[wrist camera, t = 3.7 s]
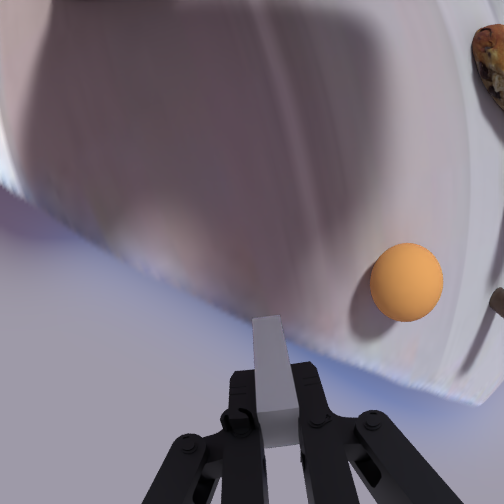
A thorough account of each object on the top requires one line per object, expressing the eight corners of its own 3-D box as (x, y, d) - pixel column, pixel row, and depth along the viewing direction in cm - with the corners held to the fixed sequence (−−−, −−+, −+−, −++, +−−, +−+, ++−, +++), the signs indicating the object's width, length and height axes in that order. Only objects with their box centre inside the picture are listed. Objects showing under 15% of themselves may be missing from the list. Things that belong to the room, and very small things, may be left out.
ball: (359, 237, 19) (394, 267, 14) (420, 230, 19) (463, 254, 14) (357, 303, 21) (384, 345, 16) (414, 292, 21) (448, 326, 16)
